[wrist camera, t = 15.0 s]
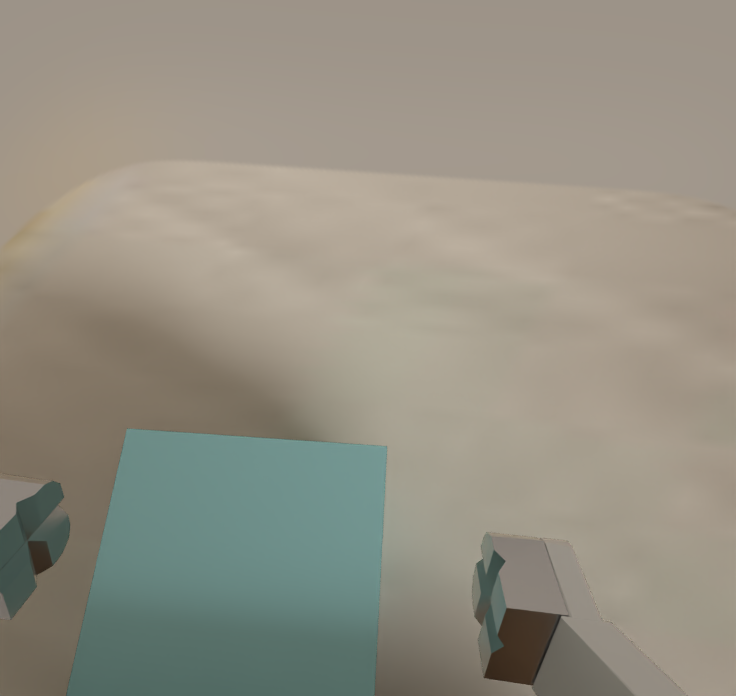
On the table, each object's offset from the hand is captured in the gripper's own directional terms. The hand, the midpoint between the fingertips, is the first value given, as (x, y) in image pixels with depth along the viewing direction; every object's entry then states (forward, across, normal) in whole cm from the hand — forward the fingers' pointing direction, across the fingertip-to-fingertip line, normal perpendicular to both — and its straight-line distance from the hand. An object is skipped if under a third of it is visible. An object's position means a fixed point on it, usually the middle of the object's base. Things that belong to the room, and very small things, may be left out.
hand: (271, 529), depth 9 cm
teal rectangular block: (+4, 0, +5) cm, 6 cm away
